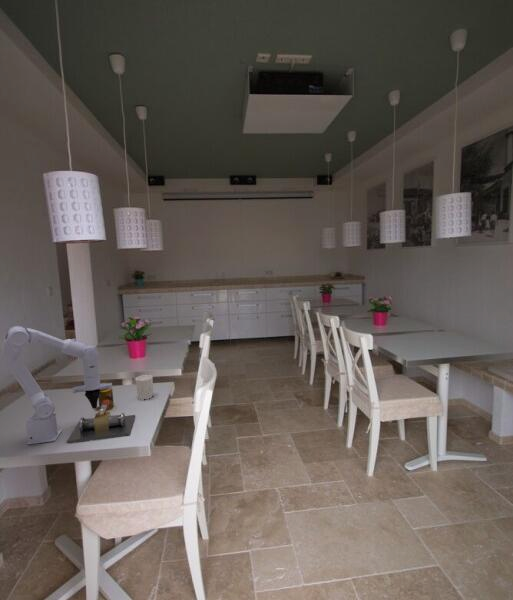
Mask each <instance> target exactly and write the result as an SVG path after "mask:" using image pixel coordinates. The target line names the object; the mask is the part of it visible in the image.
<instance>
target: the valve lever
mask: <svg viewBox="0 0 513 600" xmlns="http://www.w3.org/2000/svg"><path fill="white" fill-rule="evenodd" d="M108 406H109V400H105V401H103V402H102V406H101V407H100V408H99V409H98V412H99V414H103V413H105V412H106V411H105V410H106V408H107V407H108Z"/></svg>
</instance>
